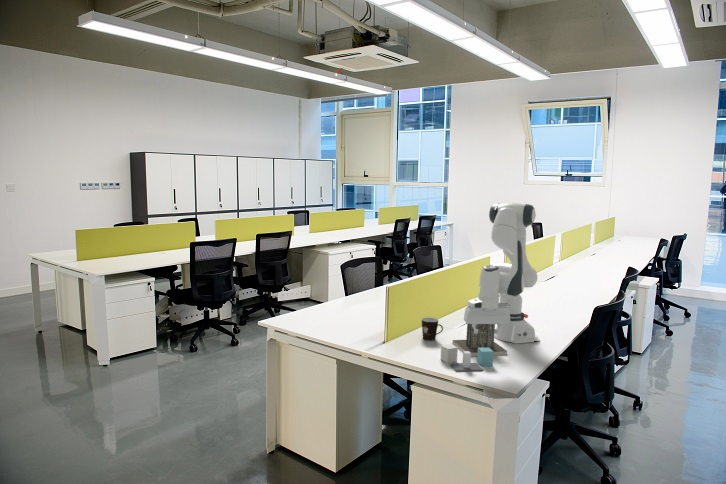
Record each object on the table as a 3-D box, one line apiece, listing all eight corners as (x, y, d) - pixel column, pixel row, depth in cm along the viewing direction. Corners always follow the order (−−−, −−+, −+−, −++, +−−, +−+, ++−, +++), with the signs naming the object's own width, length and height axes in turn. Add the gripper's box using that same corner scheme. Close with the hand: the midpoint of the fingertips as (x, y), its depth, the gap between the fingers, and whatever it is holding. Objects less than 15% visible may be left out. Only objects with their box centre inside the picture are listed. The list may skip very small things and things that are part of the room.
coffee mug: (417, 336, 256) (418, 317, 254) (432, 335, 259) (433, 316, 257) (428, 343, 245) (429, 324, 244) (443, 342, 248) (444, 322, 247)
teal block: (488, 361, 222) (488, 347, 222) (492, 365, 217) (493, 351, 216) (476, 361, 222) (477, 347, 221) (481, 366, 217) (482, 351, 216)
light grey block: (449, 357, 226) (450, 343, 225) (456, 361, 221) (457, 347, 220) (440, 359, 223) (441, 345, 222) (447, 363, 219) (448, 349, 218)
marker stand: (476, 364, 219) (476, 348, 218) (482, 370, 211) (483, 355, 210) (450, 364, 217) (450, 349, 216) (455, 371, 209) (456, 355, 208)
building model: (489, 342, 251) (491, 308, 248) (508, 355, 231) (511, 319, 229) (452, 343, 247) (454, 309, 244) (468, 357, 227) (470, 320, 225)
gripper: (507, 301, 220) (505, 331, 222) (463, 300, 218) (461, 331, 219) (513, 304, 214) (511, 335, 216) (468, 304, 211) (466, 335, 213)
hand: (486, 333), depth 217 cm, fingers open, 8 cm apart
